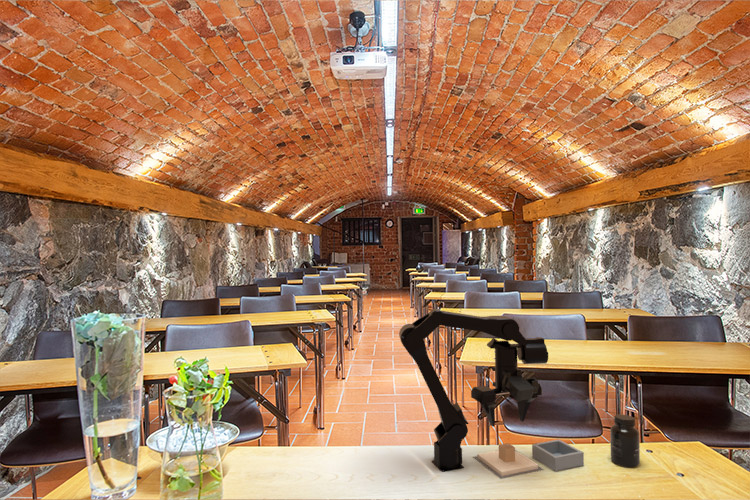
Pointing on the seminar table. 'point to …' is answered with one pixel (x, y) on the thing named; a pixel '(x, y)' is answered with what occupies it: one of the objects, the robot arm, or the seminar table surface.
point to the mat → (506, 475)
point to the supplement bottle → (625, 441)
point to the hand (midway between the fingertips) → (507, 423)
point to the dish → (557, 455)
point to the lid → (507, 460)
